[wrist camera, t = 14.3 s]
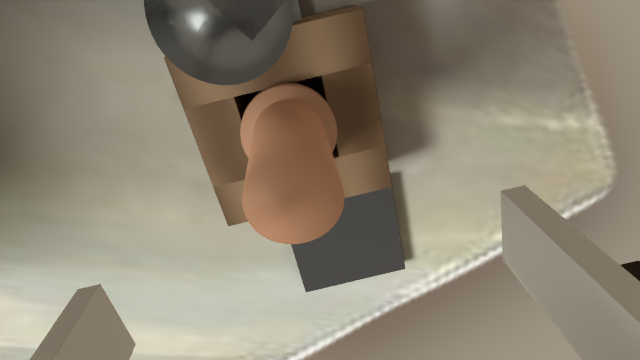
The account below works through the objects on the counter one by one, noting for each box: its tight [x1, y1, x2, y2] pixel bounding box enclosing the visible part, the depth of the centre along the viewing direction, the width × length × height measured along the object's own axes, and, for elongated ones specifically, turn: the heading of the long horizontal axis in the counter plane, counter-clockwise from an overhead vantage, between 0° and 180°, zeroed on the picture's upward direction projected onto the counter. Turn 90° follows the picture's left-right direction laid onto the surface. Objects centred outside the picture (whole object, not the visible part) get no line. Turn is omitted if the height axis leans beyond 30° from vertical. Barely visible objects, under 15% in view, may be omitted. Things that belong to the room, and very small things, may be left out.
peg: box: [240, 82, 344, 244], centre depth 24 cm, size 6×6×14 cm
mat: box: [291, 187, 405, 292], centre depth 35 cm, size 9×9×1 cm
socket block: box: [164, 0, 392, 226], centre depth 22 cm, size 12×16×15 cm
